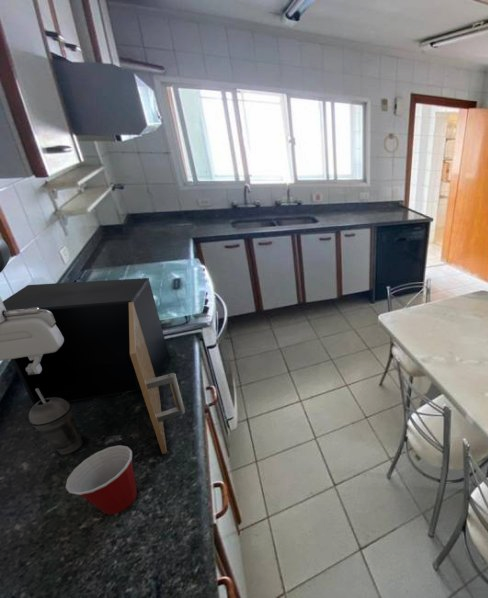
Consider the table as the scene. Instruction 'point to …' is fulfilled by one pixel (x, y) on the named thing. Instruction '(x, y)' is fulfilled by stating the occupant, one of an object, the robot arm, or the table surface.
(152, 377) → the fridge door
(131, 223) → the table surface
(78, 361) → the box
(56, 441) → the beverage cup
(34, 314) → the robot arm
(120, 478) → the plastic cup
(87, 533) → the table surface
